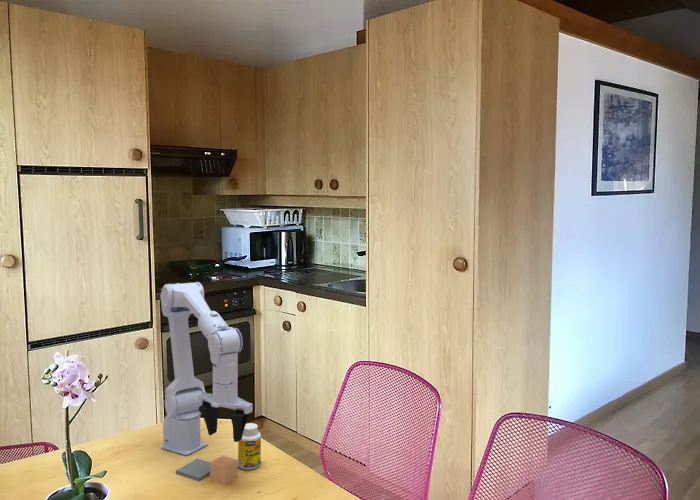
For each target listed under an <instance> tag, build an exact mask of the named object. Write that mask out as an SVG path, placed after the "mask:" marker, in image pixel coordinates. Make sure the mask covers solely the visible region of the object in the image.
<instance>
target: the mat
mask: <svg viewBox="0 0 700 500" xmlns="http://www.w3.org/2000/svg"><path fill="white" fill-rule="evenodd" d="M210 462H211V461H208V460H204V459H201V458H198V457H197V458H196V459H194V460H192V461H190V462H188V463H186V464H185V465H182V466H181V467H179V468H177V469H176V470H175V474H176V475H178V476H183V477H185V478H189V479H191V480H194V481H195V480H196V481H199V482H201V481H202V480H203V479H205V478H207V477H210Z"/></svg>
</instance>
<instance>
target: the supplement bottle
mask: <svg viewBox="0 0 700 500" xmlns="http://www.w3.org/2000/svg"><path fill="white" fill-rule="evenodd" d="M258 428H259V426H258V424H256V423H254V422H251V423H250V422H247V423H246V425H245V428H244V431H243V435H242V439H241V440H240V441H238V443H237V444H238V445H237V446H238V449H237V450H238V451H237V453H238V454H237V455H238V456H237V458H238V467H239V468H240V469H242V470H249V471H250V470H251V471H252V470H255V469H257V468H258V467H260V465H261V458H262V457H261V455H262V447H261V445H262V442H261V441H262V434H261V433H260V431H259V429H258Z"/></svg>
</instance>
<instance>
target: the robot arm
mask: <svg viewBox="0 0 700 500" xmlns="http://www.w3.org/2000/svg"><path fill="white" fill-rule="evenodd" d="M160 304H161V305H160V306H161V312H162V315H163V316H164V317H166V318H167V319H168V326H169V327H168V328H169V334H170V344H171V345H170V346H171V353H172V362H173V363H172V364H173V372H174V374H173V375H174V379H173V381H172V382H171V383H169V385H168V386H167V387H165V389H164V390H165V391H164V394H165V395H164V397H165V398H164V409H165V413H166V415H165V417H164V420H163V423H162V440H163V441H162V445H161V446H160V448H161V449H162V450H167V451H170V452H173V453H177V454H180V455H184V456H189V455H191V454H192V453H195V452H197V451H199V450H200V449H202V448H204V447H206V446H208V442H205V441H202V440H201V417H202V418H203V420H204V423H205V425H206V429H207V434H208V435H209V436H212V435H214V434H216V433H217V431H218V417H219V411H220V408H226V409H229V410H234V412H232V413H230V414H229V417H230V421H231V424H232V435H233V436H232V437H233V442H234V443H237V442H238V441H240V440H241V439H242V435H243V431H244V428H245V425H246V424H247V423H248V421H249V418H250V417H251V415H252V413H253V402H252V403H251V402H249V401H246V400H245V399H243V398H240V397H239V396H238V384H239V383H238V382H239V381H238V380H239V379H238V373H239V372H238V369H239V367H238V366H239V365H238V364H239V363H238V362H239V360H238V359H239V357H238V356H239V353H241V351H242V350H243V346H244V345H243V336H242V333H241V332H240V330H239V328H237V327H233V326H229V325H228V324H227V322H226V321H225V320H224V319H223V318H222V316H221V315H220V314H219V313H218V312H217V311H215V310H211V308H210V307H209V305H208V303H207V301H206V300H205V289H204V286H203V284H202V283H201V282H199V281H195V282H187V283H173V284H172V283H171V284H168V283H165V284H164V285H163V287H162V288H161V292H160ZM192 314H193V316H195V318H197V320H198V322H197V327H198V330H200V331H201V333H202V334H203V336H204V337H205V338H206V340H207V348H208V351H209V355H210V356H209V357H210V362H211V363H212V393H211V392H210V393H209V392H206V389H205V385H204V382H203V381H201V380H200V379H198V378H197V377H195V373H194V372H195V371H194V363H193V356H192V355H193V354H192V346H191V345H192V344H191V336H190V329H189V327H190V326H189V317H190V316H191V315H192Z"/></svg>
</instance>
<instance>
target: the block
mask: <svg viewBox="0 0 700 500" xmlns="http://www.w3.org/2000/svg"><path fill="white" fill-rule="evenodd" d="M209 462H210V475H209V477H210V478H209V480H210V482H214V483H217V484H220V485H222V486H223V485H224V486H227V485H228V484H230V483H231V482H233V481H234V480H236V479H237V478H239V477H238V475H239V474H238V467H239V465H238V459H237V458H234V457H230V456H226V455H221V456H219V457H218V458H216V459H214V460H212V461H209Z"/></svg>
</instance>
